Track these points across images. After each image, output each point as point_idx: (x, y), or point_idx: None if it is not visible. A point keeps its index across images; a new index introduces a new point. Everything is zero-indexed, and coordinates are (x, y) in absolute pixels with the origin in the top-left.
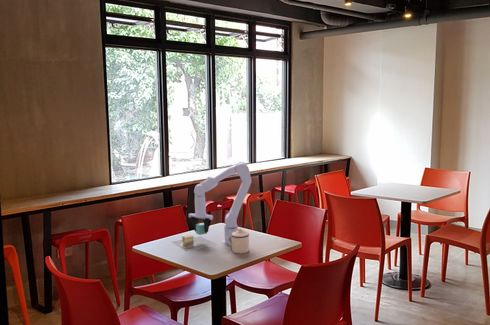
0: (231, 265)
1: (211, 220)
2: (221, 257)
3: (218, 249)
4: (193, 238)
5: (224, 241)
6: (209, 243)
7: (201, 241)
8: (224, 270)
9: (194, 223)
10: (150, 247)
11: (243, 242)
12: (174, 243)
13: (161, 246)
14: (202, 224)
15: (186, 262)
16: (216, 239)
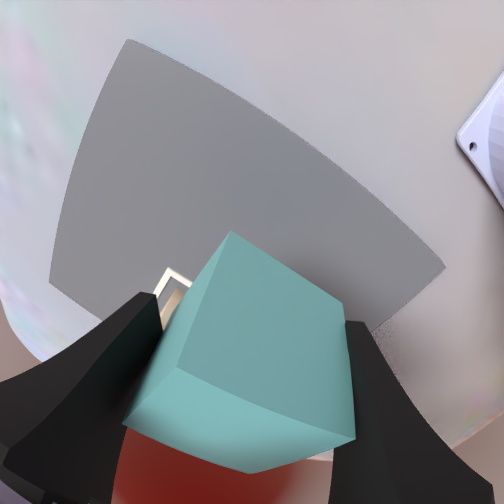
0: (485, 421)
1: (479, 487)
2: (463, 396)
3: (453, 323)
4: (103, 144)
5: (485, 152)
6: (361, 248)
7: (243, 209)
8: (460, 443)
9: (118, 443)
10: (54, 351)
11: None
12: (88, 309)
13: (71, 338)
14: (262, 447)
15: (327, 452)
16: (357, 43)
